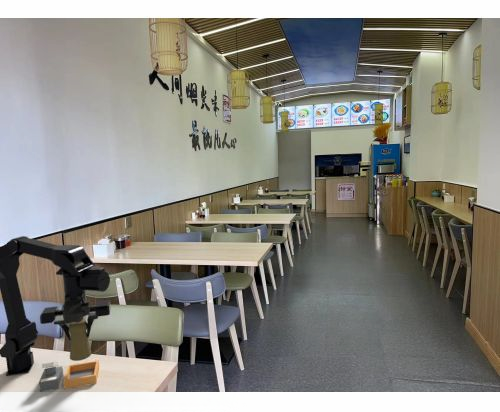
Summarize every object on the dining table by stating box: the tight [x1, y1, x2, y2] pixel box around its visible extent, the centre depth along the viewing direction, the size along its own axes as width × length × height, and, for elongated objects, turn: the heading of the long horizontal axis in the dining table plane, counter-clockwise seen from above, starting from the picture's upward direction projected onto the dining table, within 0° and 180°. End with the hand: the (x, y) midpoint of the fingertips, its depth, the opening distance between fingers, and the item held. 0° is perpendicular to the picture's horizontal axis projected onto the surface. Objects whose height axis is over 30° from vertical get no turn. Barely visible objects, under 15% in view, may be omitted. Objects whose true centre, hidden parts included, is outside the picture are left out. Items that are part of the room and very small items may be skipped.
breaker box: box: [38, 366, 64, 393], centre depth 114 cm, size 5×7×5 cm
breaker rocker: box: [41, 361, 59, 369], centre depth 114 cm, size 3×6×1 cm, turn 16°
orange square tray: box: [63, 360, 100, 390], centre depth 117 cm, size 9×9×2 cm
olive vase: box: [69, 319, 92, 362], centre depth 115 cm, size 6×6×11 cm
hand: (79, 338), depth 115 cm, fingers closed on olive vase, 5 cm apart
